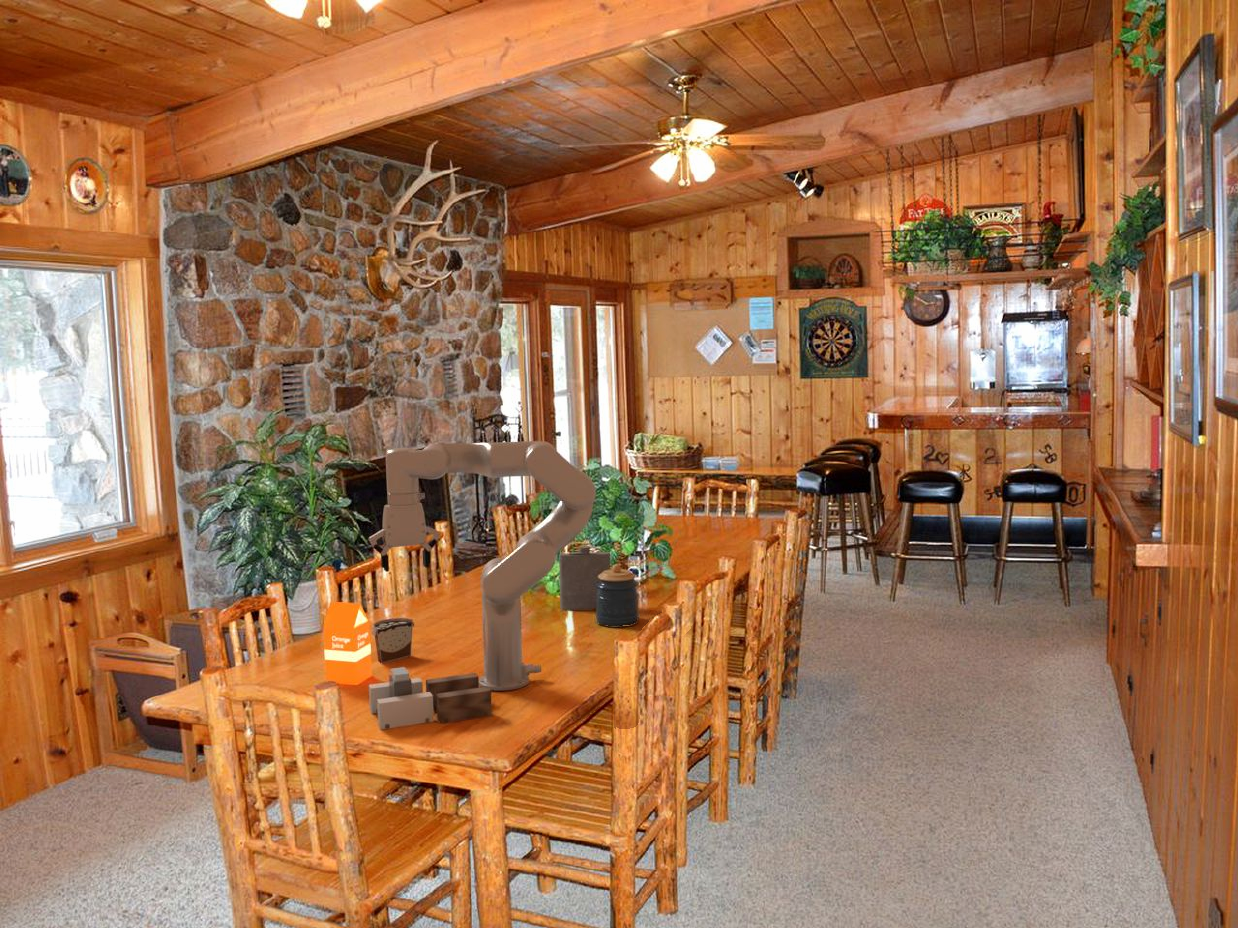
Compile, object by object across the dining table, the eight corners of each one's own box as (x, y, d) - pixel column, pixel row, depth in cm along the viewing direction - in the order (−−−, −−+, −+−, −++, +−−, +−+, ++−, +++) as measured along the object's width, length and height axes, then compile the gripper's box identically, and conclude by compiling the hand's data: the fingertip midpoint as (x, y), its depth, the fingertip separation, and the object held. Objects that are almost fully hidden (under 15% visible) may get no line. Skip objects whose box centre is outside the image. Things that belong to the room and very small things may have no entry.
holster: (475, 696, 265) (475, 672, 264) (491, 715, 252) (490, 690, 251) (426, 704, 260) (425, 679, 260) (440, 723, 248) (439, 697, 247)
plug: (407, 710, 257) (406, 666, 255) (413, 718, 251) (411, 673, 250) (390, 712, 255) (388, 668, 254) (395, 720, 250) (393, 675, 248)
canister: (631, 629, 321) (630, 570, 319) (589, 626, 325) (588, 567, 323) (644, 618, 333) (643, 561, 331) (604, 615, 337) (603, 558, 335)
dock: (420, 702, 262) (419, 677, 261) (433, 721, 249) (432, 695, 248) (369, 709, 257) (368, 684, 257) (380, 729, 245) (379, 703, 244)
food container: (403, 650, 304) (401, 614, 303) (415, 654, 300) (414, 618, 299) (364, 660, 296) (362, 624, 294) (376, 664, 291) (374, 628, 290)
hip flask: (610, 605, 348) (609, 543, 346) (611, 609, 344) (610, 546, 342) (560, 607, 347) (558, 545, 344) (560, 611, 343) (559, 548, 340)
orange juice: (341, 673, 285) (338, 597, 282) (372, 675, 283) (368, 599, 280) (325, 682, 278) (321, 605, 275) (356, 685, 275) (352, 607, 273)
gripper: (435, 494, 273) (437, 562, 275) (364, 499, 266) (367, 568, 268) (442, 498, 266) (444, 568, 268) (369, 504, 259) (373, 575, 261)
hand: (406, 568), depth 268 cm, fingers open, 9 cm apart
